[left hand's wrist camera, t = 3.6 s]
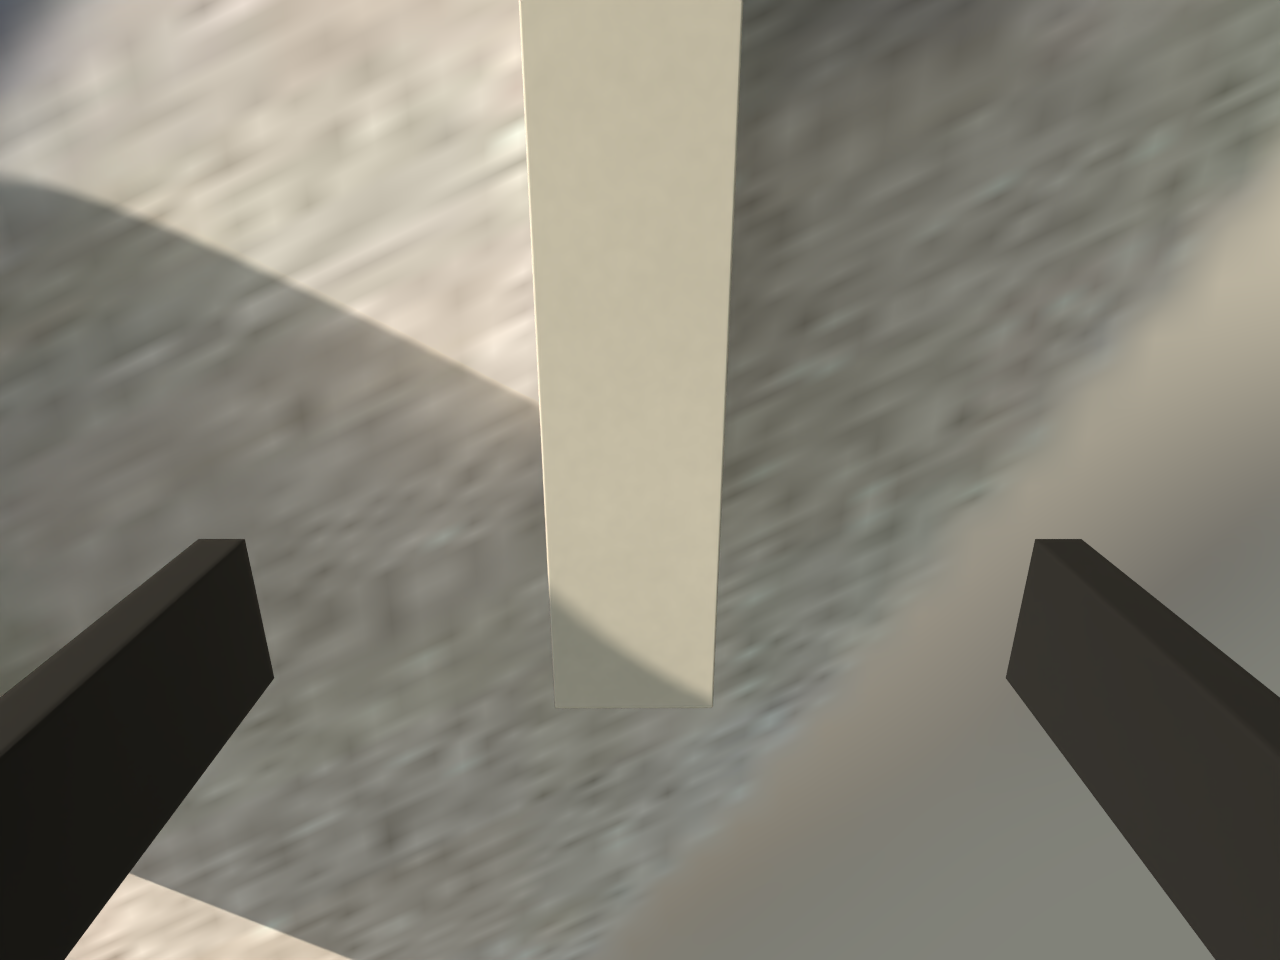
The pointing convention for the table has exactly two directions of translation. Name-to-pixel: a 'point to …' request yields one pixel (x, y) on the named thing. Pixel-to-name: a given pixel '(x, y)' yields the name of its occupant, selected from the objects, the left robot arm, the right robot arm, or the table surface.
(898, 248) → the table surface
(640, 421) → the board
